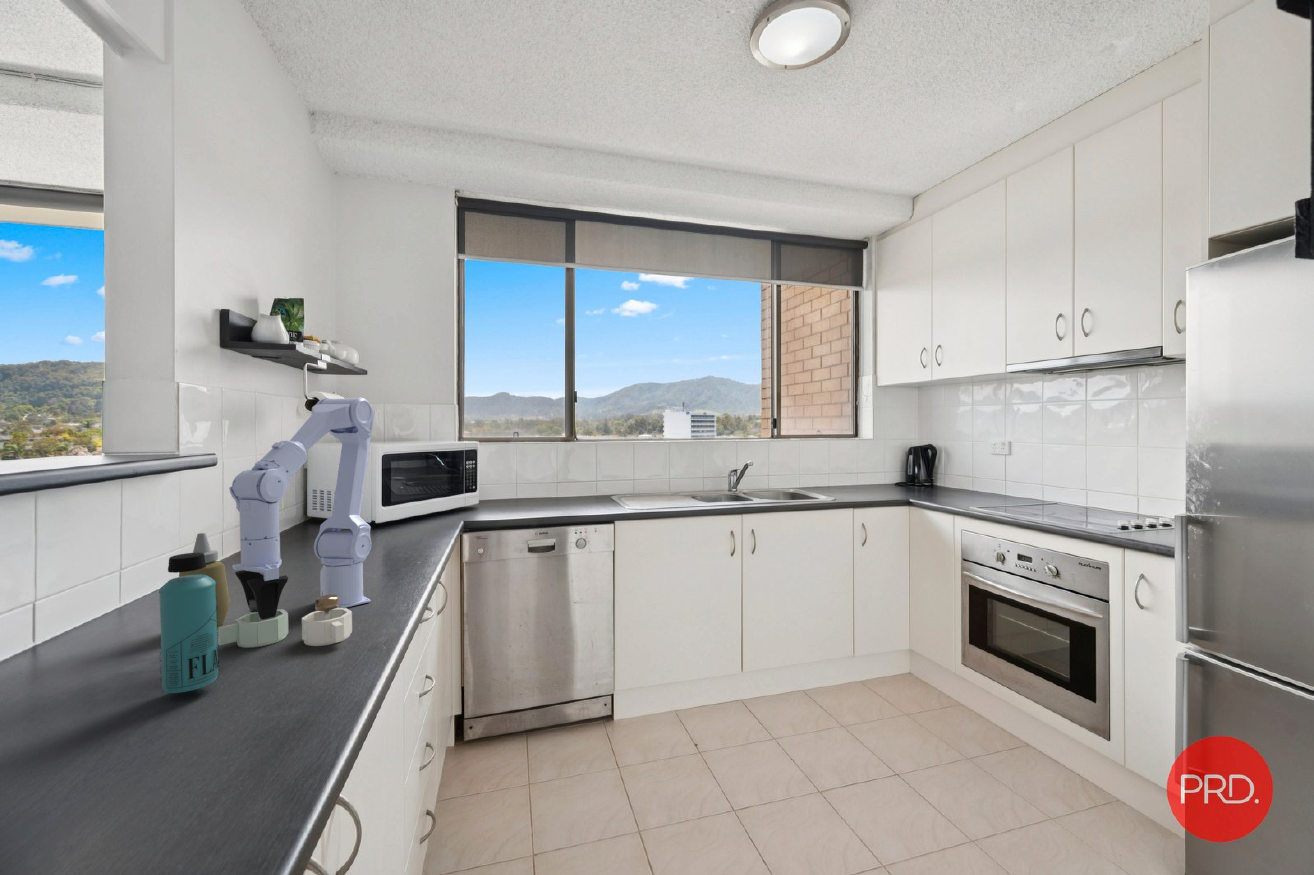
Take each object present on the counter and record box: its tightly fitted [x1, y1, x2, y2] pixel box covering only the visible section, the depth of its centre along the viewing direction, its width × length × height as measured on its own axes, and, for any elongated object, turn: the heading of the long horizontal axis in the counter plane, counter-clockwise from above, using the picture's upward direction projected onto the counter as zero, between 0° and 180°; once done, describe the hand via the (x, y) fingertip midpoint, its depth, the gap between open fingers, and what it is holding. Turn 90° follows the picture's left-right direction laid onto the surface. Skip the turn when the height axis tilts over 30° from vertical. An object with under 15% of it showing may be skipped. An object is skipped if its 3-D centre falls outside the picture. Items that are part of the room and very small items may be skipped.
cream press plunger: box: [314, 595, 339, 620], centre depth 99 cm, size 5×5×6 cm
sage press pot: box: [217, 608, 289, 649], centre depth 98 cm, size 10×7×4 cm
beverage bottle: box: [158, 552, 220, 694], centre depth 79 cm, size 6×7×20 cm
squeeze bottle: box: [178, 532, 231, 629], centre depth 104 cm, size 8×8×18 cm
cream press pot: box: [301, 607, 353, 647], centre depth 98 cm, size 10×7×4 cm
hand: (262, 612), depth 98 cm, fingers open, 7 cm apart
